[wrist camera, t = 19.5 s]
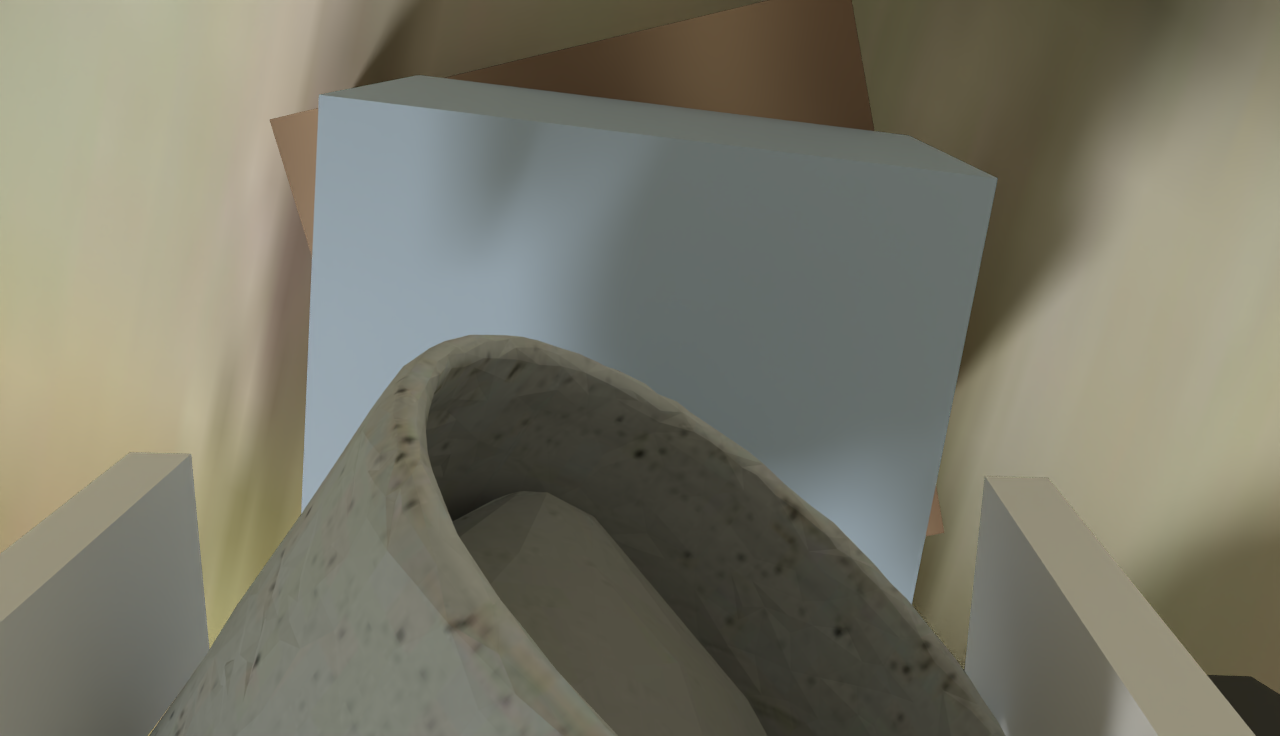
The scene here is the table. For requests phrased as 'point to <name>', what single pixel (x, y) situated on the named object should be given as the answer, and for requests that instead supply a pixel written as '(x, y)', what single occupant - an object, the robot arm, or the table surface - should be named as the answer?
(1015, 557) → the robot arm
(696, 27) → the walnut base
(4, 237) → the table surface
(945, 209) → the light blue box
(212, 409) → the table surface
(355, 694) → the ceramic mug
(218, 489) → the table surface
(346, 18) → the table surface
